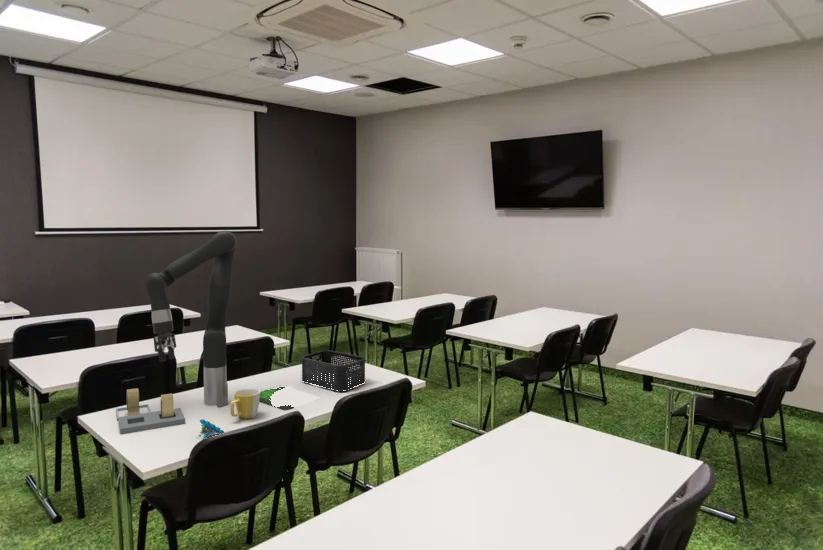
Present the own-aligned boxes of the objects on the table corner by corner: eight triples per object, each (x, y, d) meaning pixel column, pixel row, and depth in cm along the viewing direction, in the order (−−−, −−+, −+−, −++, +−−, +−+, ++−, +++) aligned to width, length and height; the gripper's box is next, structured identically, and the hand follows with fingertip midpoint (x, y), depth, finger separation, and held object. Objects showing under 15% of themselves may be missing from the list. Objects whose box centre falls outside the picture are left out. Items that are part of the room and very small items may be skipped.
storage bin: (298, 382, 263) (298, 356, 261) (325, 373, 278) (326, 348, 277) (341, 394, 247) (342, 366, 245) (367, 384, 263) (368, 357, 261)
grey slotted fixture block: (180, 414, 215) (180, 407, 215) (185, 426, 204) (185, 418, 204) (118, 424, 204) (118, 417, 204) (120, 436, 193) (120, 429, 193)
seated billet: (172, 417, 210) (171, 393, 209) (173, 421, 206) (173, 396, 205) (160, 419, 208) (160, 395, 206) (161, 423, 204) (161, 398, 203)
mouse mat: (323, 398, 241) (323, 396, 241) (286, 412, 223) (286, 409, 223) (282, 386, 256) (282, 384, 256) (245, 398, 238) (245, 395, 238)
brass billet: (138, 411, 216) (137, 388, 215) (139, 415, 213) (138, 391, 212) (126, 413, 214) (126, 389, 213) (127, 416, 210) (126, 392, 209)
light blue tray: (148, 408, 222) (148, 403, 221) (151, 418, 211) (151, 413, 211) (115, 413, 215) (115, 408, 215) (117, 423, 205) (117, 418, 205)
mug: (251, 410, 223) (251, 386, 222) (265, 416, 217) (265, 391, 216) (221, 419, 212) (221, 393, 211) (236, 425, 206) (235, 399, 205)
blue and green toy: (230, 433, 195) (210, 419, 190) (220, 448, 192) (200, 434, 187) (215, 428, 202) (195, 415, 197) (205, 443, 199) (186, 429, 194)
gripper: (163, 320, 210) (168, 361, 209) (178, 319, 224) (183, 356, 224) (144, 323, 210) (150, 364, 209) (161, 321, 224) (166, 359, 224)
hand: (167, 360), depth 217 cm, fingers open, 8 cm apart
